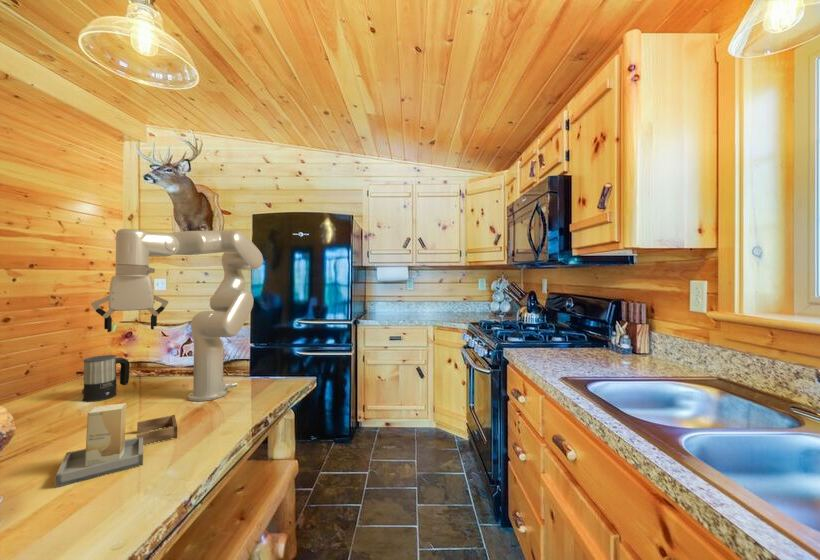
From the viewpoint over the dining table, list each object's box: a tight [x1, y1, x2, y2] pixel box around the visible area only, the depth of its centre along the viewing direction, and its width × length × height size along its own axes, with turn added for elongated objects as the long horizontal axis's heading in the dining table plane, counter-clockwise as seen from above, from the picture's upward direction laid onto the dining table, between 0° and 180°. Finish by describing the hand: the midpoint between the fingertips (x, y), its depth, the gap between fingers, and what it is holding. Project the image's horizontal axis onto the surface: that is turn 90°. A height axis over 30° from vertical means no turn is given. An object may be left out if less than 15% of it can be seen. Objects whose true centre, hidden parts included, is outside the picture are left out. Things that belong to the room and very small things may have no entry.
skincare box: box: [85, 402, 127, 467], centre depth 78 cm, size 6×4×12 cm
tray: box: [55, 437, 144, 488], centre depth 78 cm, size 14×12×2 cm
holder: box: [136, 414, 178, 446], centre depth 93 cm, size 9×11×3 cm
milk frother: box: [81, 354, 131, 403], centre depth 125 cm, size 14×16×15 cm
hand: (131, 330), depth 98 cm, fingers open, 9 cm apart
